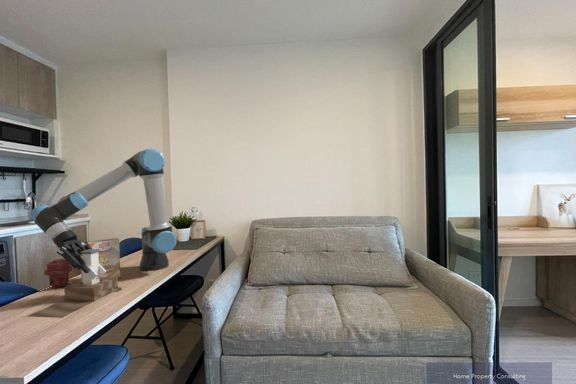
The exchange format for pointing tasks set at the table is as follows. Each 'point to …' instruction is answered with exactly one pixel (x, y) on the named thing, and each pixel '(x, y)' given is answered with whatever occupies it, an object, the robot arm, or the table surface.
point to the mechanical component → (58, 273)
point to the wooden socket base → (79, 297)
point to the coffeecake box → (108, 256)
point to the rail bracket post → (91, 265)
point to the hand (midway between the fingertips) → (99, 275)
